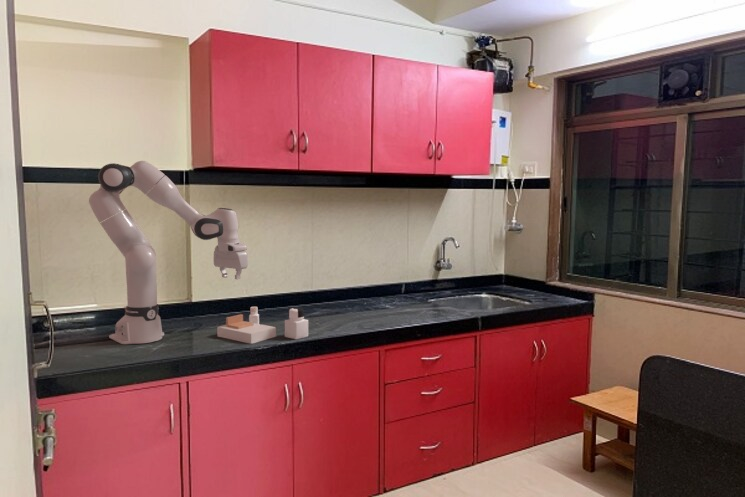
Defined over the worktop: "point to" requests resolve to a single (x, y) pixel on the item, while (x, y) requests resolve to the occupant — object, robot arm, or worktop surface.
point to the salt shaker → (254, 315)
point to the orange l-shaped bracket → (237, 322)
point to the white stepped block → (296, 324)
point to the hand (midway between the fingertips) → (231, 278)
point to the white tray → (247, 333)
